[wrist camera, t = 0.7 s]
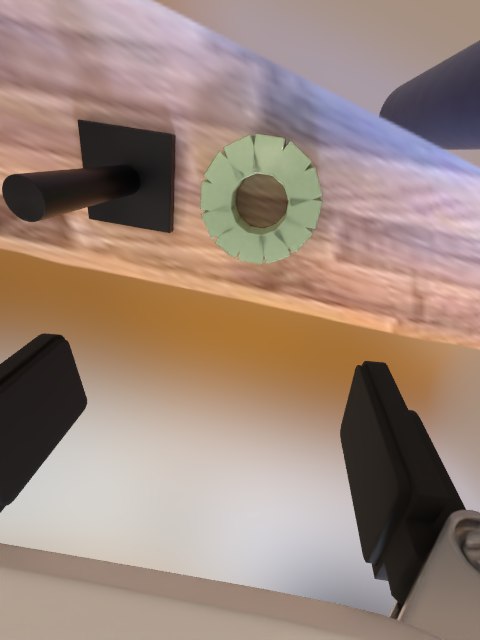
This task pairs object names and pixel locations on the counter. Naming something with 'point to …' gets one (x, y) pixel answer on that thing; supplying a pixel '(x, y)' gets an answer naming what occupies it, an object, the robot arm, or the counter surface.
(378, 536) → the robot arm
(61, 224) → the counter surface
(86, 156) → the post
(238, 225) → the ring
